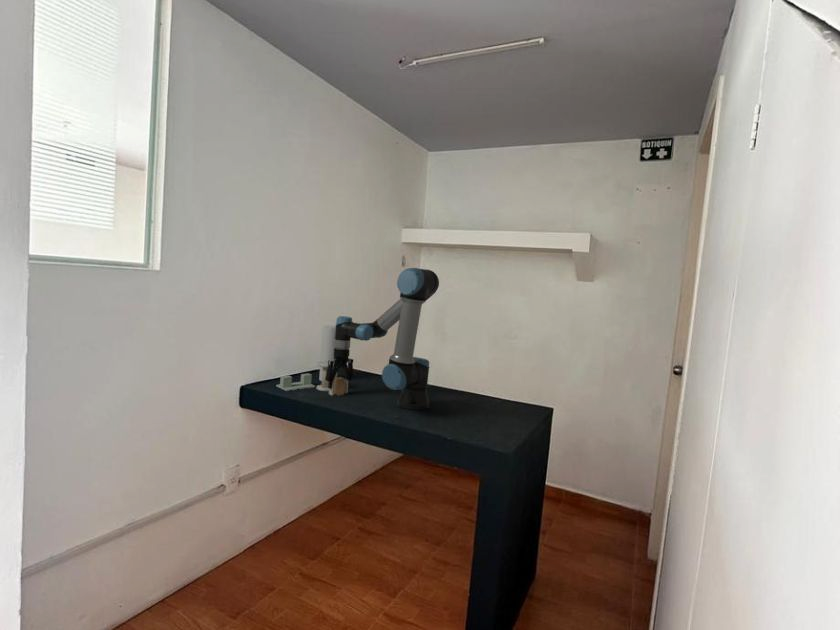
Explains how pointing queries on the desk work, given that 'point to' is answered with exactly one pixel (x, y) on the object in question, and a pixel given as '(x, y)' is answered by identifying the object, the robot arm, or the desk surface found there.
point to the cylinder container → (327, 346)
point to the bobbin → (323, 377)
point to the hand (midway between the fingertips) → (338, 393)
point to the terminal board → (288, 385)
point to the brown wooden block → (339, 386)
